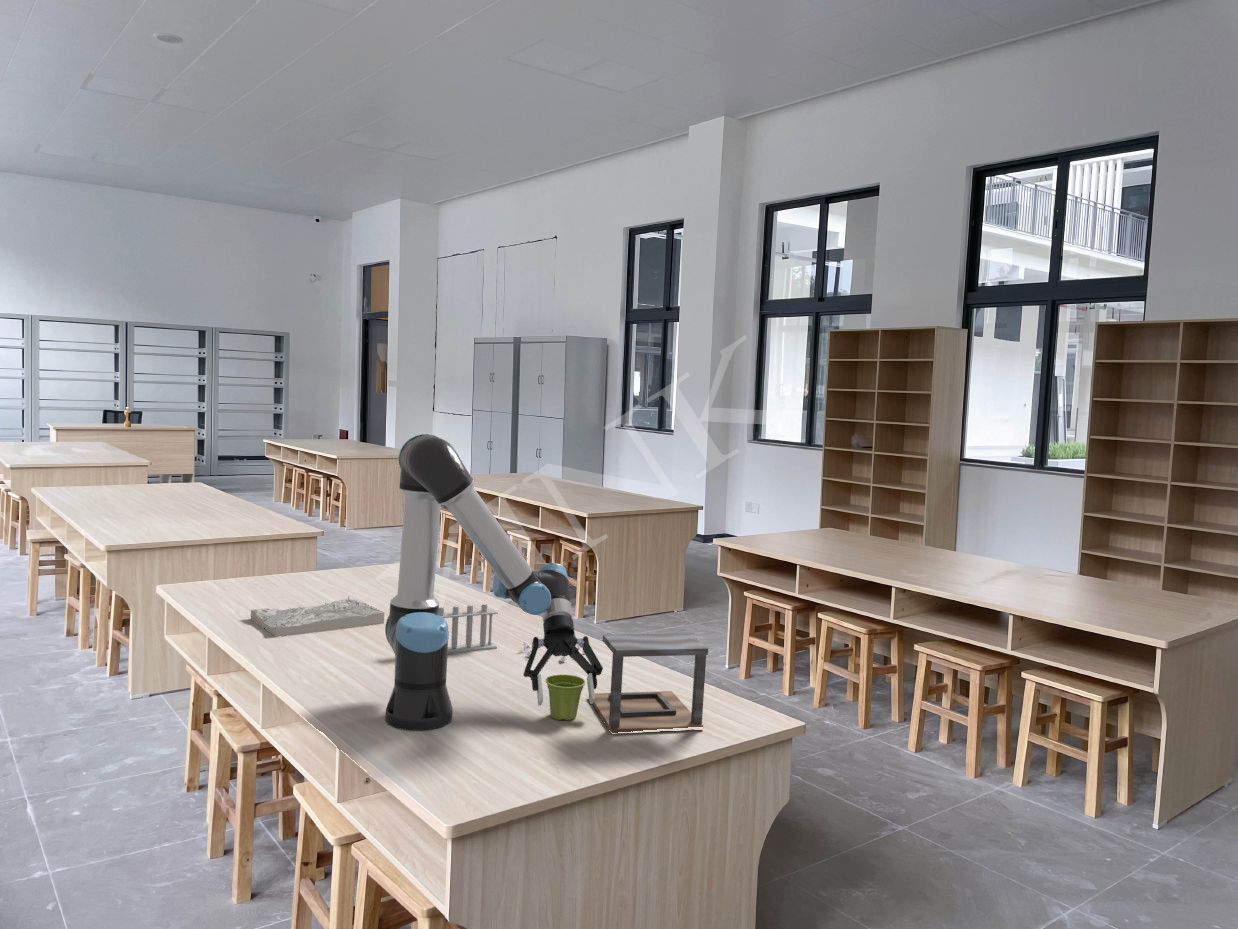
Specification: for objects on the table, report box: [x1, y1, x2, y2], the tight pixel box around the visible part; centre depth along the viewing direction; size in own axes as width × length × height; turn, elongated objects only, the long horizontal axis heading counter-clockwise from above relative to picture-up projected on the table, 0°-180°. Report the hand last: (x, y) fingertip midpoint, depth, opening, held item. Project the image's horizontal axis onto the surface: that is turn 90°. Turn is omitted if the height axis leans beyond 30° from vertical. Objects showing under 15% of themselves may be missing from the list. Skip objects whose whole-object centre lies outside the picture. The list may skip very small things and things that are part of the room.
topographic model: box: [250, 595, 385, 638], centre depth 281 cm, size 23×34×5 cm
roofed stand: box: [592, 632, 709, 733], centre depth 214 cm, size 24×22×20 cm
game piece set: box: [520, 635, 585, 663], centre depth 261 cm, size 19×20×4 cm
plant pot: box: [545, 674, 586, 721], centre depth 210 cm, size 9×9×9 cm
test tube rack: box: [438, 603, 499, 655], centre depth 258 cm, size 25×4×13 cm, turn 120°
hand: (566, 702), depth 208 cm, fingers open, 12 cm apart
